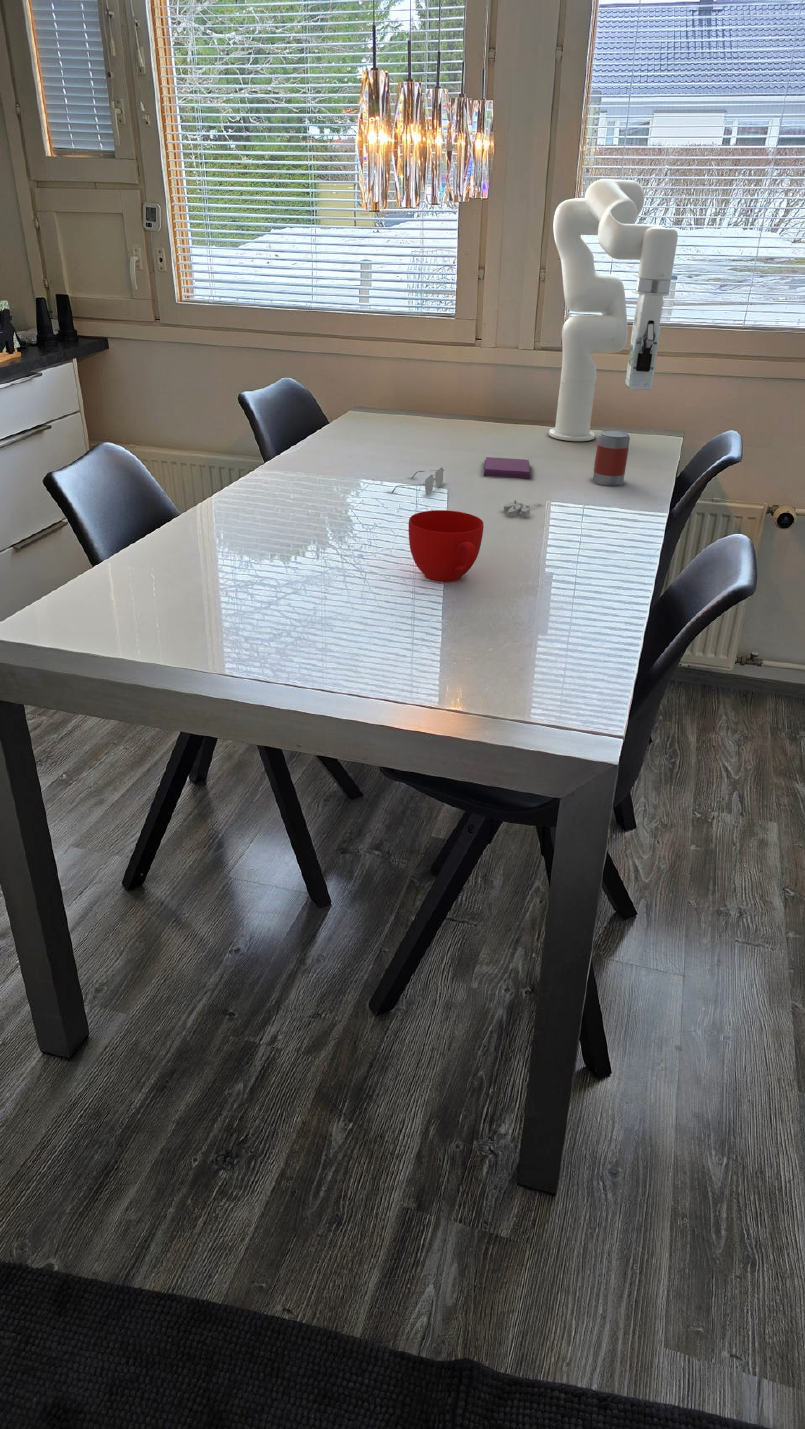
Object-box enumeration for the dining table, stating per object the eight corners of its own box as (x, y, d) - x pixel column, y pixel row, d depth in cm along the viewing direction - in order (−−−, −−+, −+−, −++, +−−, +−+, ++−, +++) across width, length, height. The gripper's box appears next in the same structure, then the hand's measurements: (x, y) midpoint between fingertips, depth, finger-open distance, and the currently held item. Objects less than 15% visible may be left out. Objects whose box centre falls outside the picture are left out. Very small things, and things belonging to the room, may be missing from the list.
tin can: (591, 476, 241) (597, 429, 236) (621, 478, 241) (628, 431, 235) (593, 485, 235) (600, 436, 229) (625, 487, 234) (632, 438, 229)
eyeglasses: (425, 498, 219) (424, 479, 218) (391, 496, 222) (390, 478, 220) (444, 482, 231) (444, 465, 229) (412, 481, 234) (411, 463, 232)
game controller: (499, 515, 210) (500, 503, 209) (514, 502, 220) (515, 490, 218) (525, 519, 208) (526, 507, 207) (539, 506, 218) (541, 494, 217)
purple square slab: (484, 463, 248) (485, 456, 247) (528, 466, 248) (529, 459, 247) (483, 476, 238) (484, 469, 237) (529, 479, 237) (530, 472, 236)
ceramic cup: (434, 601, 166) (438, 543, 161) (394, 567, 180) (396, 513, 175) (503, 592, 171) (508, 536, 166) (459, 560, 184) (463, 507, 180)
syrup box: (652, 390, 239) (662, 326, 232) (628, 389, 238) (637, 325, 231) (647, 386, 244) (657, 322, 237) (623, 385, 243) (632, 321, 236)
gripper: (632, 282, 238) (620, 361, 247) (641, 290, 223) (629, 374, 232) (663, 284, 238) (651, 363, 246) (675, 292, 223) (661, 376, 231)
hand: (640, 368), depth 239 cm, fingers closed on syrup box, 6 cm apart
